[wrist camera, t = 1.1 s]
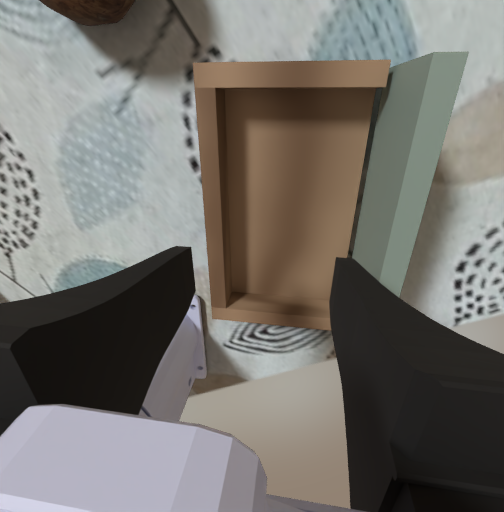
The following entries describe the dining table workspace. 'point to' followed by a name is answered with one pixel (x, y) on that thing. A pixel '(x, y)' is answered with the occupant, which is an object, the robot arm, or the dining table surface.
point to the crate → (281, 181)
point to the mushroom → (91, 10)
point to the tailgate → (404, 161)
